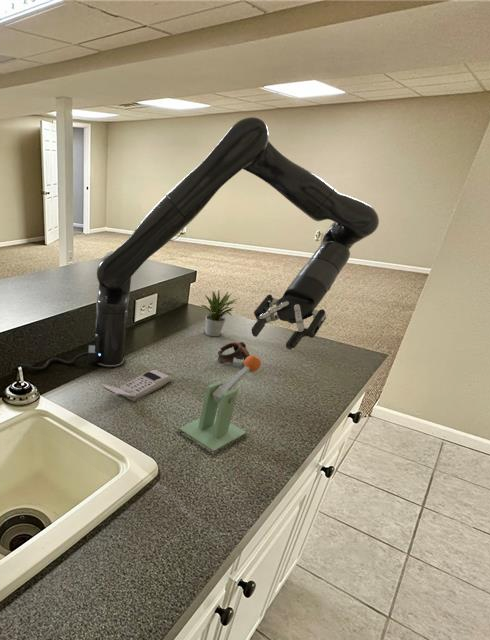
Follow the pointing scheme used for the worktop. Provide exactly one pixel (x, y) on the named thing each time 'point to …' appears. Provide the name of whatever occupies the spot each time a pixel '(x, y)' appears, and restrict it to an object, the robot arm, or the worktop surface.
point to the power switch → (215, 420)
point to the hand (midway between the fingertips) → (270, 341)
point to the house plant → (216, 314)
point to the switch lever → (238, 376)
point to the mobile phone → (141, 385)
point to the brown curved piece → (238, 354)
